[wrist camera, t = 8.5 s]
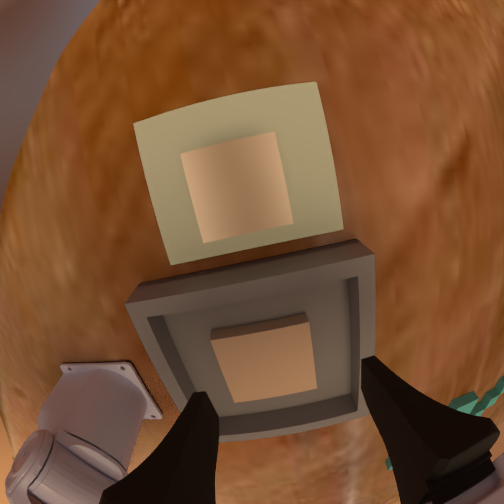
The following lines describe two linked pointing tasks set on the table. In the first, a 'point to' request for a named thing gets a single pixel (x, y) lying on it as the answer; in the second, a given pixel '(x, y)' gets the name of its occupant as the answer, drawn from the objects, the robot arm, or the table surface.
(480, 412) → the alien figure
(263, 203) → the brown block
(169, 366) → the box
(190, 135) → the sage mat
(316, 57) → the table surface
